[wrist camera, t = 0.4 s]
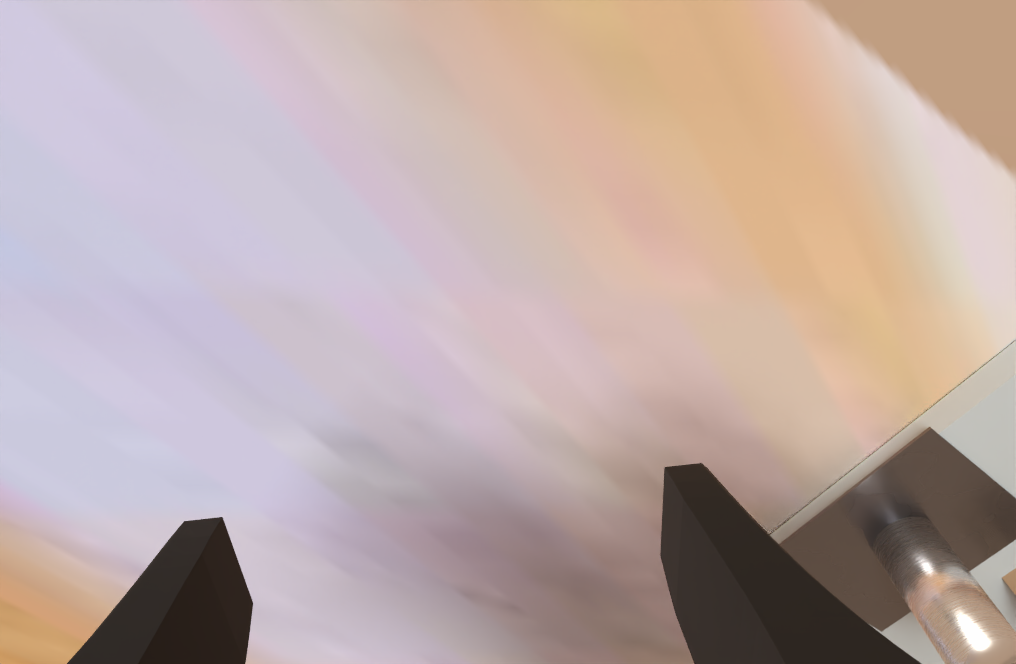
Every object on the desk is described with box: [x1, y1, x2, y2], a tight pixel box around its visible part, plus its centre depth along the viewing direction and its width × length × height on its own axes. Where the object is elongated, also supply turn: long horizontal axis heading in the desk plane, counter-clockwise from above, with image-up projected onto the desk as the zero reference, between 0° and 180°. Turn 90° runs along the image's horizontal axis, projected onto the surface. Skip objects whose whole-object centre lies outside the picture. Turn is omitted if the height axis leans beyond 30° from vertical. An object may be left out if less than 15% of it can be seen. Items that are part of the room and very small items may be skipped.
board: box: [770, 341, 1016, 664], centre depth 28 cm, size 14×12×1 cm
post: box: [779, 427, 1016, 664], centre depth 25 cm, size 7×7×5 cm
